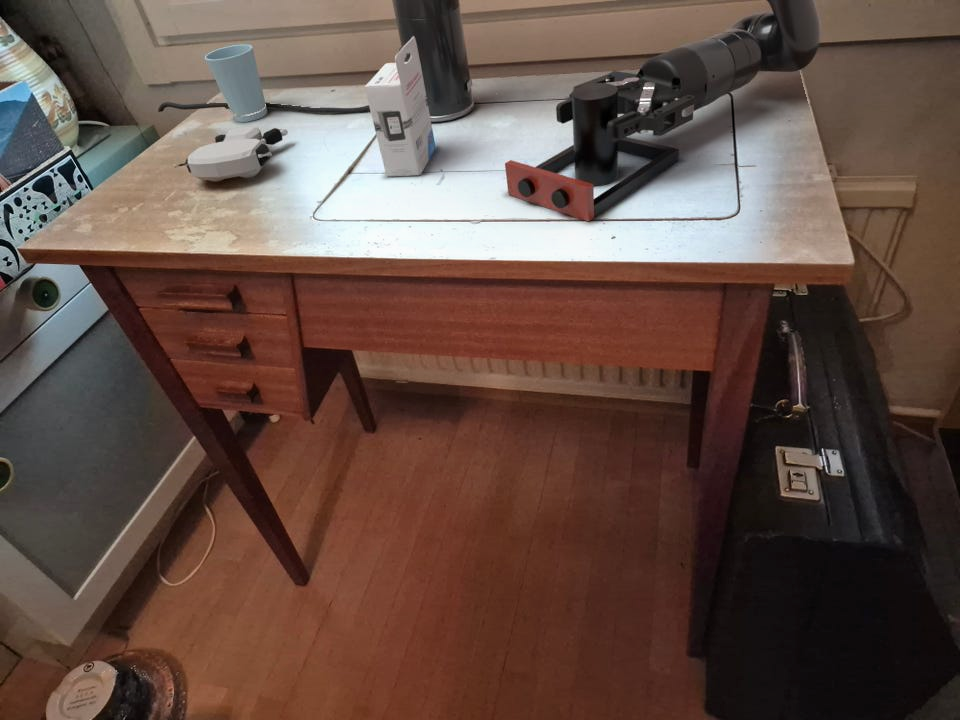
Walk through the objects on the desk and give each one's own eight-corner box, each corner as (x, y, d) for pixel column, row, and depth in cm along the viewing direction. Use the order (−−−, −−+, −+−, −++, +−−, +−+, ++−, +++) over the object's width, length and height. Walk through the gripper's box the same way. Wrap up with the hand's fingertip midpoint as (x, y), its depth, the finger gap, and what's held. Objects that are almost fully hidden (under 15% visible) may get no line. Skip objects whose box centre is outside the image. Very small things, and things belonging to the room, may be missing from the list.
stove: (503, 197, 77) (499, 165, 75) (597, 141, 86) (597, 111, 83) (583, 225, 70) (582, 191, 68) (678, 161, 78) (680, 128, 76)
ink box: (403, 149, 92) (379, 37, 83) (437, 148, 91) (416, 34, 82) (385, 177, 86) (356, 59, 77) (420, 176, 85) (395, 56, 75)
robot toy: (221, 156, 102) (182, 194, 90) (211, 127, 99) (168, 162, 87) (297, 147, 101) (267, 185, 89) (288, 117, 98) (256, 151, 86)
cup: (269, 120, 109) (246, 54, 102) (224, 127, 110) (198, 62, 103) (277, 105, 115) (256, 41, 108) (234, 111, 115) (211, 48, 109)
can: (566, 179, 79) (562, 95, 72) (592, 163, 81) (590, 80, 75) (600, 189, 76) (598, 102, 69) (626, 172, 78) (627, 86, 72)
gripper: (643, 37, 81) (540, 76, 76) (738, 57, 72) (628, 103, 66) (641, 98, 86) (544, 139, 80) (730, 124, 77) (627, 173, 71)
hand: (582, 123), depth 73 cm, fingers open, 8 cm apart
